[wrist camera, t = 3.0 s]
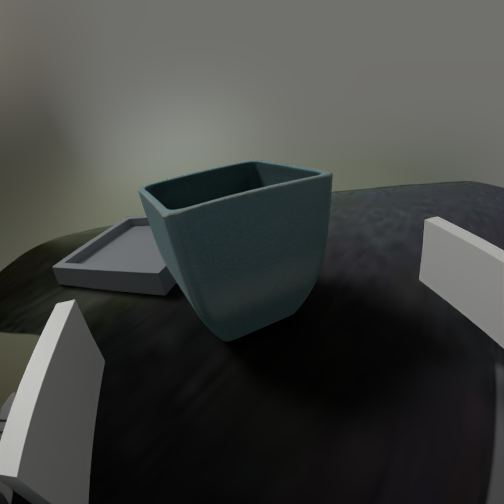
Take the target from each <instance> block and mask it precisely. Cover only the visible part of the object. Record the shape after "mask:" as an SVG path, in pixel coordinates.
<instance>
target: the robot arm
mask: <svg viewBox="0 0 504 504" xmlns="http://www.w3.org/2000/svg"><path fill="white" fill-rule="evenodd" d="M419 280H420V281H421V282H423V283H424V284H425V285H427V286H428V287H429V288H431V289H432V290H433V291H435V292H436V293H437V294H438V295H440V296H441V297H442V298H444V299H445V300H446V301H447V302H449V303H450V304H451V305H452V306H454V307H455V308H456V309H457V310H459V311H460V312H461V313H462V314H464V315H465V316H466V317H467V318H468V319H470V320H471V321H472V322H473V323H475V324H476V325H477V326H478V327H479V328H481V329H482V330H483V331H484V332H485V333H486V334H488V335H489V336H490V337H491V338H492V339H494V340H495V341H496V342H497V343H498V344H499V345H500V346H502V347H503V348H504V251H503V250H502V249H500V248H498V247H496V246H494V245H493V244H491V243H489V242H487V241H485V240H483V239H481V238H479V237H478V236H476V235H474V234H472V233H470V232H468V231H466V230H464V229H462V228H460V227H458V226H456V225H454V224H452V223H450V222H448V221H446V220H444V219H442V218H440V217H434V218H429V219H425V225H424V238H423V249H422V259H421V267H420V276H419ZM104 364H105V360H104V358H103V357H102V355H101V353H100V351H99V349H98V347H97V345H96V343H95V341H94V339H93V337H92V335H91V333H90V331H89V329H88V327H87V325H86V322H85V320H84V318H83V316H82V314H81V312H80V309H79V307H78V305H77V302H76V300H71V301H67V302H62V303H57V304H56V306H55V308H54V310H53V312H52V314H51V316H50V318H49V320H48V322H47V324H46V326H45V328H44V330H43V332H42V334H41V337H40V339H39V341H38V343H37V345H36V347H35V350H34V352H33V354H32V357H31V359H30V361H29V364H28V366H27V368H26V371H25V373H24V376H23V378H22V381H21V383H20V385H19V388H18V391H17V392H13V393H12V394H11V395H10V397H9V398H8V399H7V401H6V402H5V403H4V405H3V407H2V409H1V412H0V504H88V500H89V481H90V467H91V455H92V445H93V436H94V427H95V420H96V412H97V405H98V399H99V392H100V386H101V380H102V374H103V369H104Z"/></svg>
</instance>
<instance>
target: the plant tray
mask: <svg viewBox="0 0 504 504" xmlns="http://www.w3.org/2000/svg"><path fill="white" fill-rule="evenodd" d="M52 268H53V271H54V273H55V276H56V278H57V281H58V283H59V284H62V285H70V286H78V287H86V288H95V289H104V290H113V291H123V292H132V293H143V294H154V295H166V294H167V293H168V292H169V291H170V290H171V289H172V287H173V286H174V285H175V284H176V283H177V282H176V280H175V279H174V278H173V276H172V274H171V273H170V271H169V269H168V268H167V266H166V264H165V262H164V260H163V258H162V256H161V254H160V251H159V249H158V246H157V244H156V241H155V238H154V236H153V233H152V230H151V227H150V224H149V222H148V219H147V216H146V215H141V216H128V217H126V218H125V219H123V220H121V221H120V222H118V223H117V224H115V225H113V226H112V227H110V228H109V229H107V230H106V231H104V232H103V233H101V234H100V235H98V236H97V237H95V238H94V239H92V240H91V241H89V242H88V243H86V244H85V245H83V246H82V247H80V248H79V249H77V250H76V251H74V252H73V253H71V254H70V255H69V256H67V257H66V258H64V259H63V260H61V261H60V262H59V263H57V264H56V265H54V266H53V267H52Z"/></svg>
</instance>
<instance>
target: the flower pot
mask: <svg viewBox="0 0 504 504" xmlns="http://www.w3.org/2000/svg"><path fill="white" fill-rule="evenodd" d="M332 175H333V174H332V173H331V172H327V171H323V170H318V169H312V168H307V167H300V166H294V165H289V164H282V163H275V162H269V161H263V160H250V161H245V162H240V163H235V164H231V165H226V166H221V167H217V168H212V169H208V170H203V171H199V172H195V173H191V174H187V175H182V176H178V177H174V178H170V179H167V180H163V181H159V182H155V183H151V184H148V185H145V186H142V187H140V188H139V189H138V192H139V195H140V198H141V201H142V204H143V207H144V210H145V213H146V216H147V219H148V222H149V224H150V227H151V230H152V233H153V236H154V238H155V241H156V244H157V246H158V249H159V251H160V254H161V256H162V258H163V260H164V262H165V264H166V266H167V268H168V269H169V271H170V273H171V274H172V276H173V278H174V279H175V280H176V282H177V283H178V285H179V287H180V288H181V290H182V291H183V293H184V294H185V296H186V297H187V299H188V300H189V302H190V303H191V305H192V306H193V308H194V309H195V311H196V313H197V314H198V316H199V317H200V319H201V320H202V321H203V323H204V324H205V325H206V326H207V327H208V328H209V330H210V331H211V332H212V333H214V334H215V335H216V336H217V337H219V338H220V339H221V340H223V341H232V340H235V339H237V338H240V337H242V336H244V335H247V334H249V333H251V332H254V331H256V330H258V329H261V328H263V327H265V326H268V325H270V324H272V323H275V322H277V321H279V320H282V319H284V318H286V317H288V316H291V315H293V314H294V313H295V312H296V311H297V310H298V309H299V307H300V306H301V305H302V304H303V302H304V301H305V299H306V298H307V297H308V295H309V293H310V292H311V290H312V288H313V287H314V285H315V283H316V281H317V278H318V276H319V273H320V270H321V267H322V264H323V261H324V256H325V251H326V244H327V236H328V225H329V216H330V204H331V188H332Z"/></svg>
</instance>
